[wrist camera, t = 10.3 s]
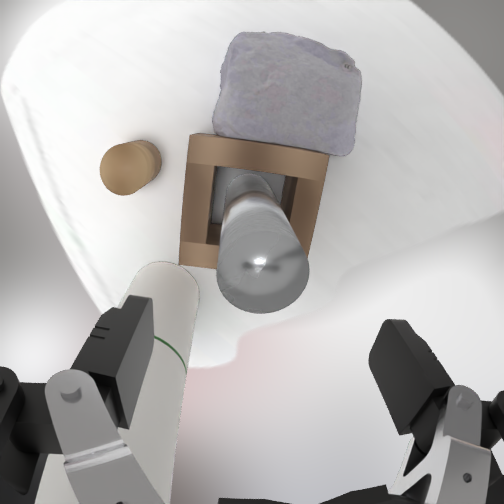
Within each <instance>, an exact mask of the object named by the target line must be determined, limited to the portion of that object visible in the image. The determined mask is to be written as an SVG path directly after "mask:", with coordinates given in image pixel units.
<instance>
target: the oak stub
mask: <svg viewBox="0 0 504 504" xmlns="http://www.w3.org/2000/svg"><path fill="white" fill-rule="evenodd" d="M160 168H161V155H160V153H159V151H158V149H157V148H156V147H155V146H154V145H153V144H152V143H150V142H148V141H144V140H138V141H133V142H128V143H124V144H119V145H116V146H114V147H112V148H110V149H109V150H108V151H107V152H106V153H105V155H104V156H103V158H102V161H101V164H100V176H101V179H102V182H103V183H104V185H105V186H106V188H107V189H108V190H110V191H111V192H113V193H115V194H117V195H130V194H133V193H135V192H136V191H138V190H139V189H140V188H142V187H143V186H145V185H146V184H147V183H149V182H150V181H152V180H153V179H154V178H155V177H156V176H157V175H158V173H159V171H160Z"/></svg>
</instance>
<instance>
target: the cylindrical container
mask: <svg viewBox="0 0 504 504" xmlns="http://www.w3.org/2000/svg"><path fill="white" fill-rule="evenodd" d="M129 295H135V296H142V297H149V298H152V300H153V319H154V346H153V352H152V355H151V358H150V361H149V364H148V368H147V371H146V374H145V377H144V380H143V384H142V387H141V390H140V394H139V397H138V400H137V404H136V407H135V411H134V414H133V418H132V421H131V425H130V429H129V430H128V429H124V428H119V427H118V430H117V431H118V433H119V434H120V436H121V438H122V440H123V442H124V443H125V444H127V446H128V447H129V449H130V450H131V452H132V453H133V455H134V457H135V458H136V460H137V462H138V463H139V465H140V467H141V468H142V470H143V472H144V473H145V475H146V476H147V478H148V480H149V481H150V483H151V484H152V486H153V487H154V489H155V490H156V492H157V493H158V495H159V496H160V497H161V499H162V500H163V502H164V503H165V504H170V497H171V487H172V478H173V469H174V460H175V452H176V445H177V436H178V429H179V421H180V414H181V407H182V400H183V394H184V387H185V380H186V374H187V368H188V362H189V356H190V349H191V343H192V338H193V332H194V326H195V320H196V315H197V309H198V303H199V288H198V285H197V283H196V281H195V280H194V278H193V277H192V275H191V274H190V273H189V272H187V271H186V270H185V269H183V268H182V267H180V266H178V265H176V264H173V263H169V262H154V263H151V264H148V265H146V266H144V267H143V268H142V269H141V270H140V271H138V273H137V275H136V276H135V278H134V279H133V281H132V283H131V285H130V286H129V288H128V290H127V291H126V293H125V295H124V297H123V298H122V300H121V302H120V304H119V306H118V307H117V308H120V309H121V308H122V306H123V304H124V302H125V301H126V299H127V297H128V296H129ZM64 462H65V458H64V455H63V454H49V455H48V458H47V461H46V464H45V468H44V471H43V474H42V478H41V481H40V485H39V489H38V493H37V496H36V500H35V504H79V502H78V500H77V498H76V495H75V493H74V491H73V489H72V486H71V484H70V482H69V479H68V477H67V474H66V471H65V468H64Z"/></svg>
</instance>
